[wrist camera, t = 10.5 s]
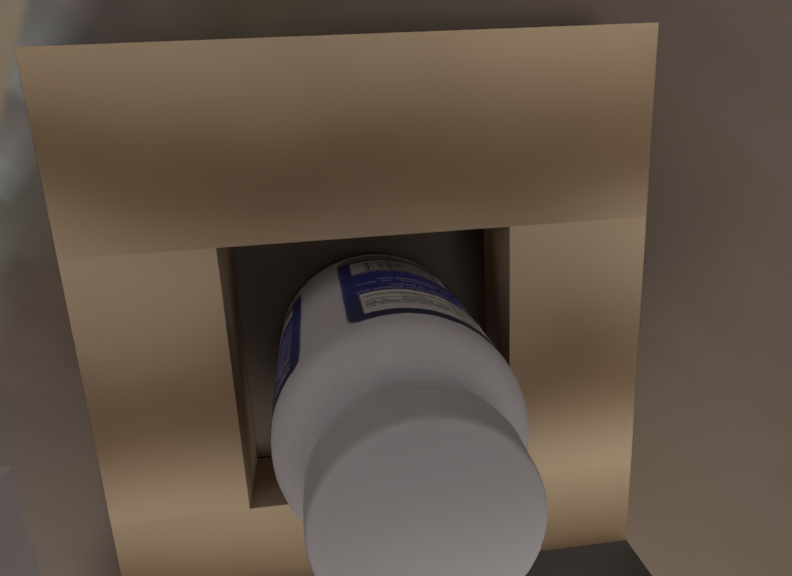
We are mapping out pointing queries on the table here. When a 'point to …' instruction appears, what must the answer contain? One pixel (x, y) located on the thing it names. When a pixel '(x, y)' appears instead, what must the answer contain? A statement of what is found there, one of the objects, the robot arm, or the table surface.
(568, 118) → the jig
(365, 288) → the pill bottle
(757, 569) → the table surface
